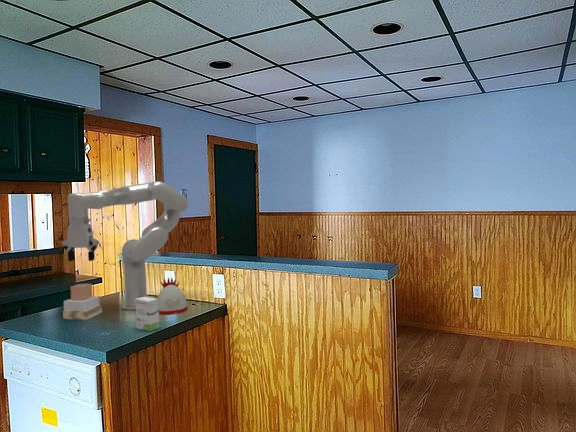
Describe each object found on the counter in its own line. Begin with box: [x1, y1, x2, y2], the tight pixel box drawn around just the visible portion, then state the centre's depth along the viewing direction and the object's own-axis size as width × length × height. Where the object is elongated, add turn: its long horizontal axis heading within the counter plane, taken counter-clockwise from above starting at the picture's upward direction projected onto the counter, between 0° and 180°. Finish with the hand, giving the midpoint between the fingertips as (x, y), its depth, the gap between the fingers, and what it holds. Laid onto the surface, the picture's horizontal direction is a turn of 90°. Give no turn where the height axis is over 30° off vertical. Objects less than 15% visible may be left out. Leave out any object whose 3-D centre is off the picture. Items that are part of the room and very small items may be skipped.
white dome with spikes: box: [156, 277, 188, 316], centre depth 189 cm, size 14×14×15 cm
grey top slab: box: [63, 295, 101, 311], centre depth 184 cm, size 10×10×4 cm
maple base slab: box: [62, 304, 103, 321], centre depth 184 cm, size 11×11×4 cm
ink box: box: [135, 296, 160, 332], centre depth 164 cm, size 9×5×12 cm, turn 55°
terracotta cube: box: [70, 283, 93, 300], centre depth 184 cm, size 6×6×6 cm
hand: (81, 260), depth 183 cm, fingers open, 9 cm apart
